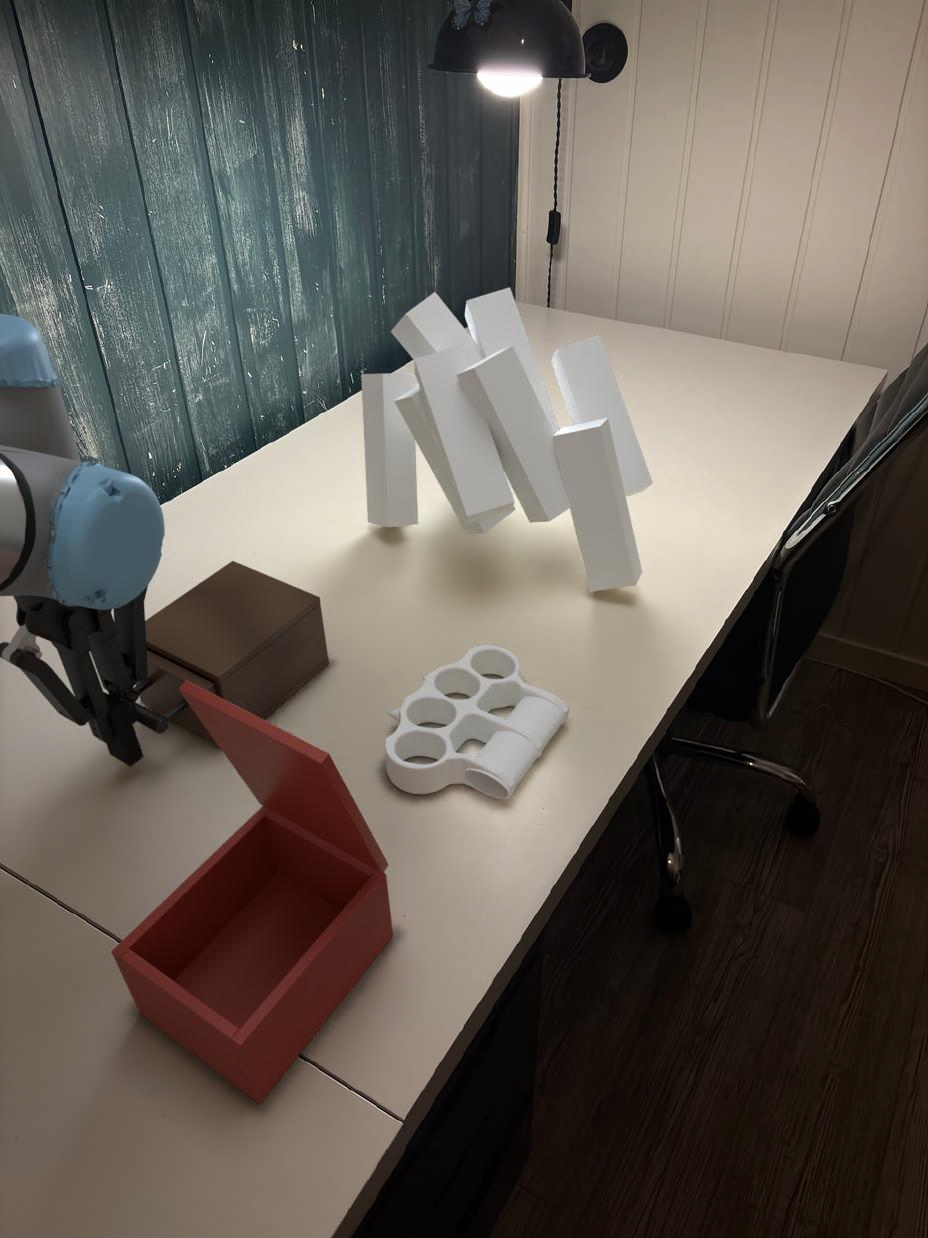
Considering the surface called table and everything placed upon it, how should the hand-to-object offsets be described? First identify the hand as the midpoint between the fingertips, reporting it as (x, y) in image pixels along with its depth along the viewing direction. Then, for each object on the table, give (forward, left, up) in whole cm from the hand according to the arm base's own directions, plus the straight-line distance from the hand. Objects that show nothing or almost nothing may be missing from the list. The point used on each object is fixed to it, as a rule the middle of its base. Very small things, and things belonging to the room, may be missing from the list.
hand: (126, 755), depth 82 cm
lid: (+3, -24, +14) cm, 28 cm away
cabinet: (+13, +4, -2) cm, 14 cm away
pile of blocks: (+51, +6, -2) cm, 52 cm away
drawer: (+10, +3, -1) cm, 10 cm away
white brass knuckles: (+25, -17, -2) cm, 31 cm away
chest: (-2, -25, -2) cm, 25 cm away
